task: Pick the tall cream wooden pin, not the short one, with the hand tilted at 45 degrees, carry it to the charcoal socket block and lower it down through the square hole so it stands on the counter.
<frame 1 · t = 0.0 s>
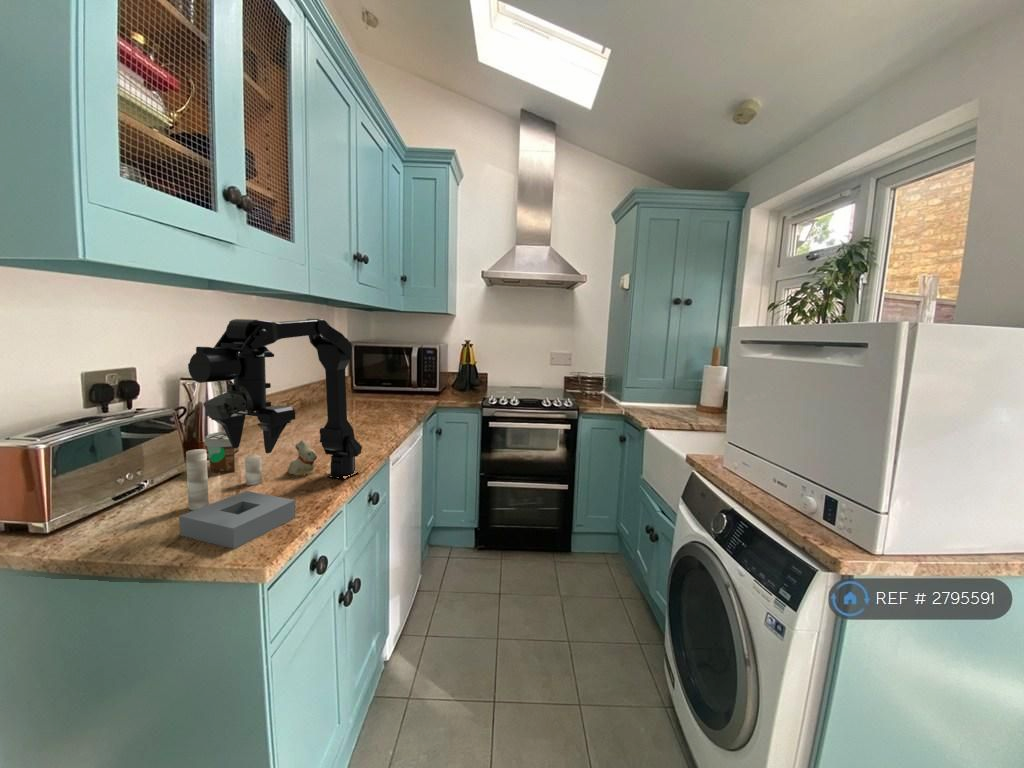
hand: (251, 450, 85), 15 cm above the counter, tool pointing down, fingers open, 9 cm apart
food container: (218, 470, 114), on the counter
short pin: (254, 482, 105), on the counter
chocolate bunny: (301, 473, 114), on the counter
socket block: (241, 526, 81), on the counter
long pin: (198, 506, 90), on the counter
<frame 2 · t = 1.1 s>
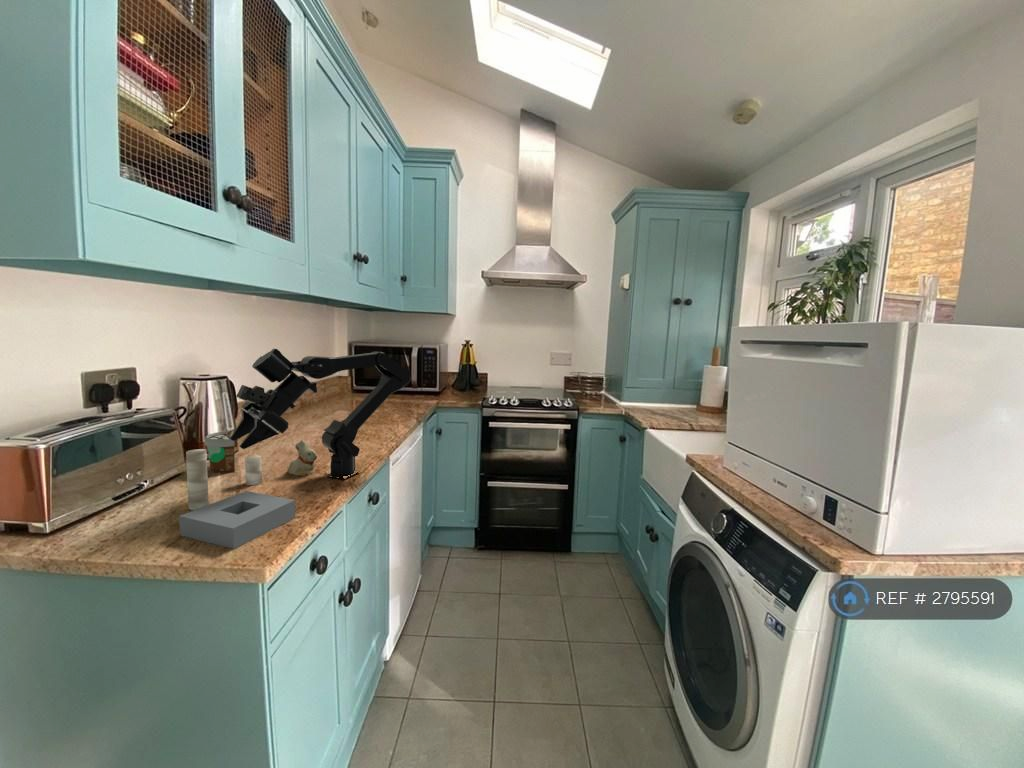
hand: (236, 443, 94), 13 cm above the counter, tool tilted 45°, fingers open, 9 cm apart
nothing on the counter moved.
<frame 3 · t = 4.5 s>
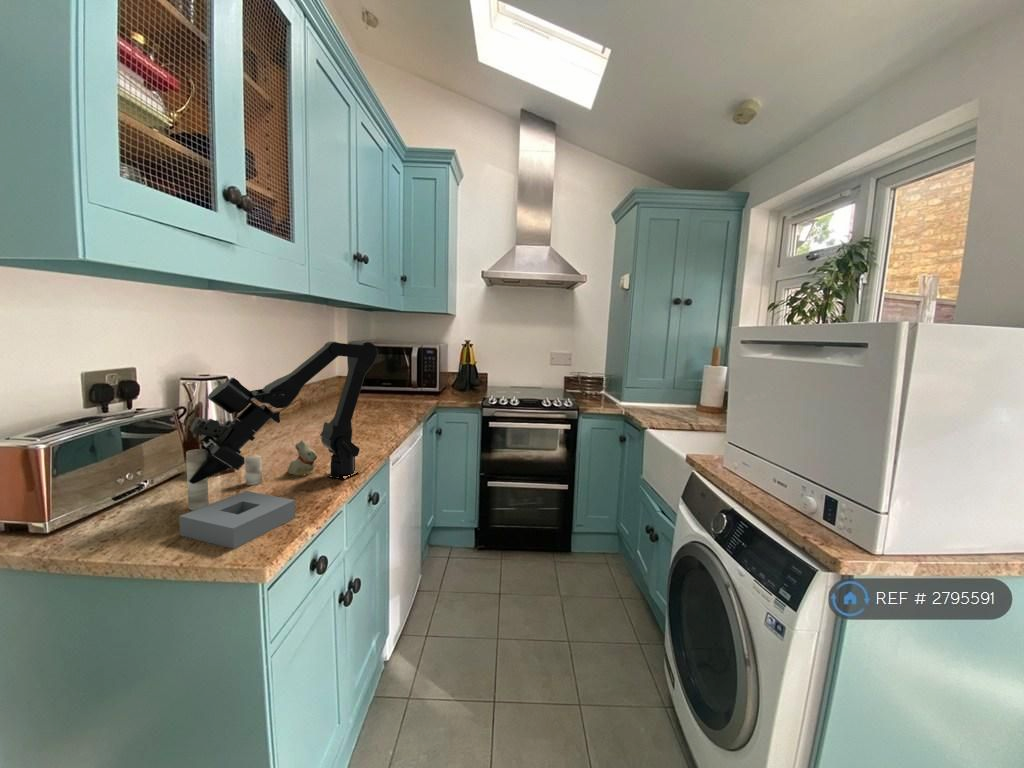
hand: (189, 480, 88), 7 cm above the counter, tool tilted 45°, fingers closed on long pin, 4 cm apart
long pin: (198, 506, 90), on the counter, touching gripper
everything else where it was.
when the fingers open (9 cm above the counter, at t = 8.9 s): long pin drops 2 cm, resting in socket block.
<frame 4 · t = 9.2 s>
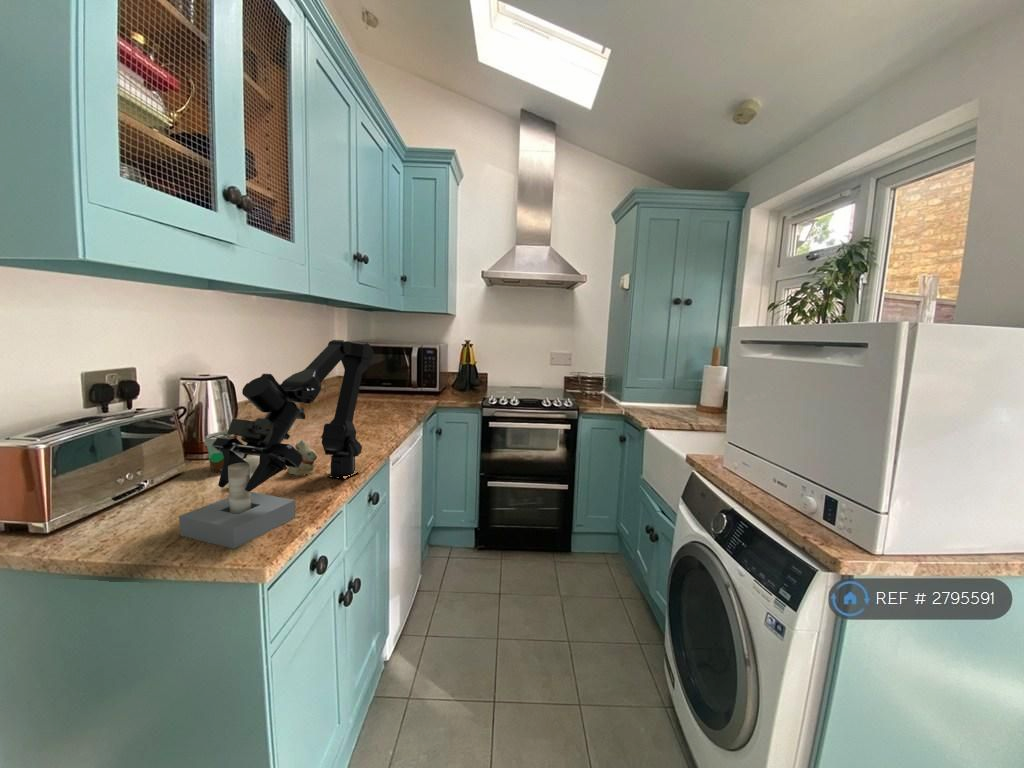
hand: (233, 488, 79), 9 cm above the counter, tool tilted 45°, fingers open, 6 cm apart
long pin: (241, 526, 81), resting in socket block
everything else where it was.
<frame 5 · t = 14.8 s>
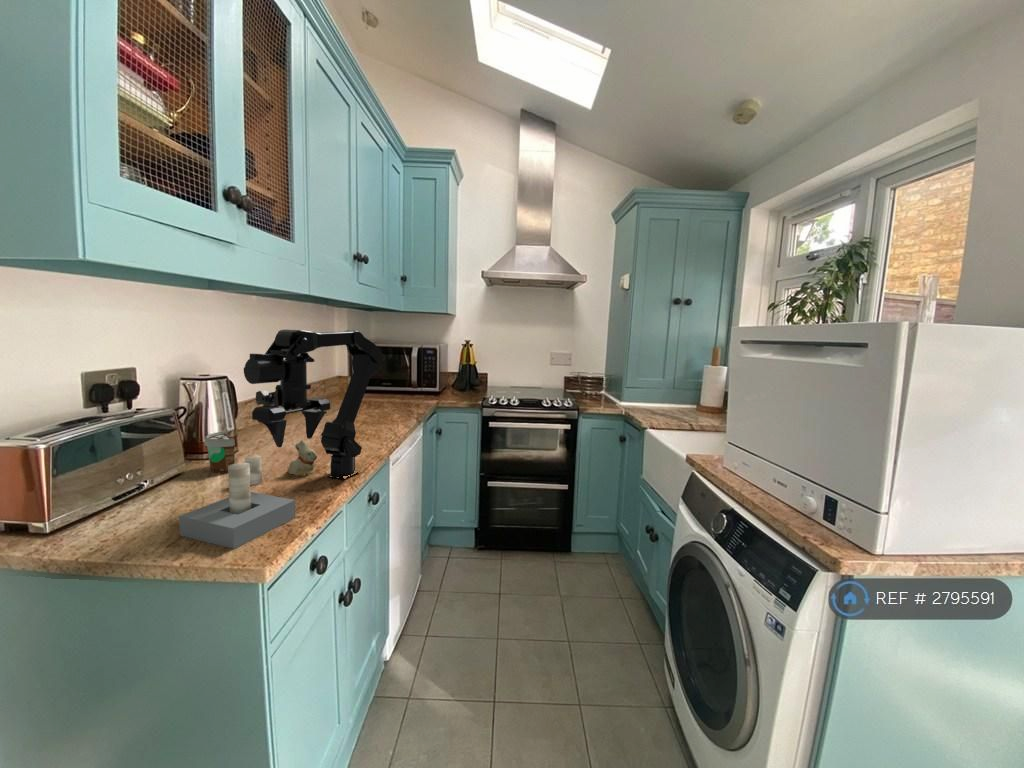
hand: (294, 442, 98), 13 cm above the counter, tool pointing down, fingers open, 9 cm apart
nothing on the counter moved.
at the end: long pin 0.0 cm off-centre on the socket block, point 0.0 cm above the socket block's base; long pin tilted 0°; short pin moved 0.0 cm from its start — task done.
